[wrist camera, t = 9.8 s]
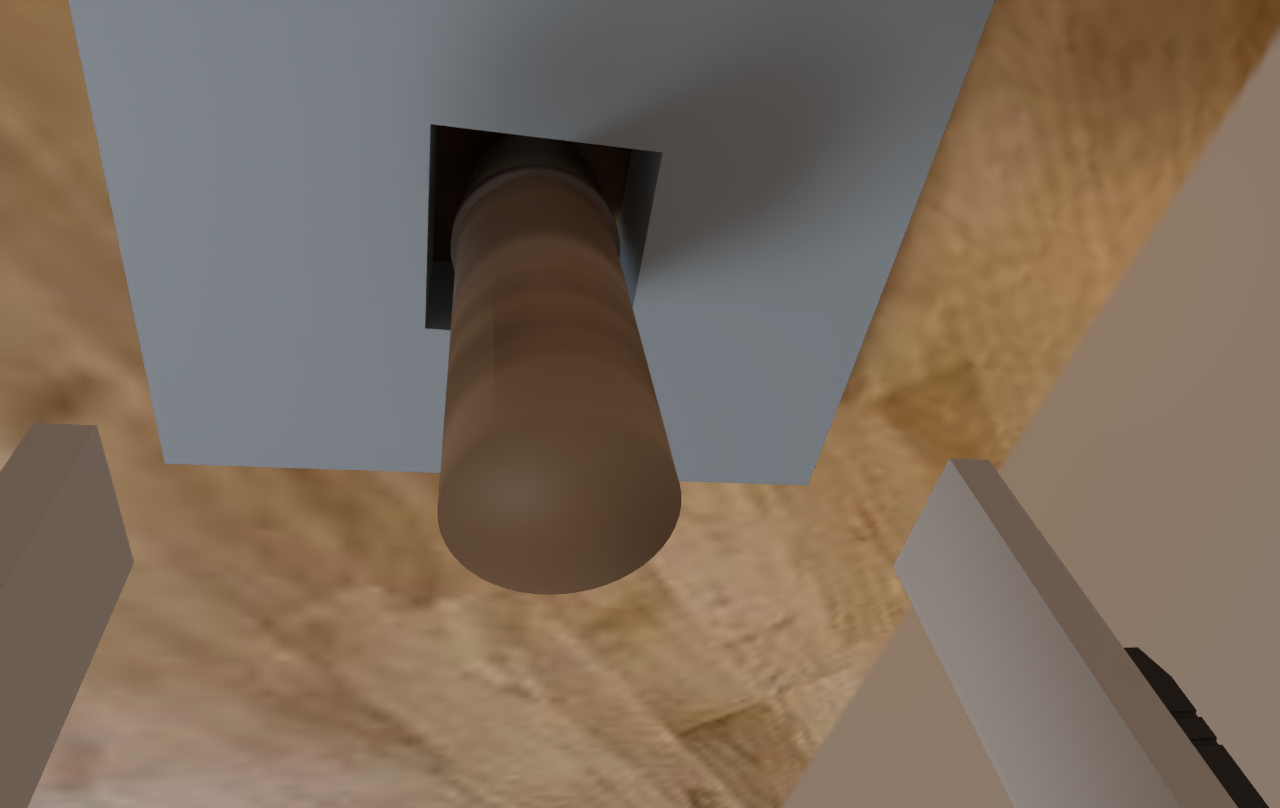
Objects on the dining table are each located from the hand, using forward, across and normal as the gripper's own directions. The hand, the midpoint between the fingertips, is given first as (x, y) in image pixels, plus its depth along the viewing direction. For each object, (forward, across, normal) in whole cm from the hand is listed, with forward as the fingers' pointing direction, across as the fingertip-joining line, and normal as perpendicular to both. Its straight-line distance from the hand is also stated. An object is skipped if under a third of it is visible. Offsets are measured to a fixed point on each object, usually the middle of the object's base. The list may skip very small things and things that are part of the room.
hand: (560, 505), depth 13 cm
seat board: (+14, 0, 0) cm, 14 cm away
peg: (+14, 0, 0) cm, 14 cm away
